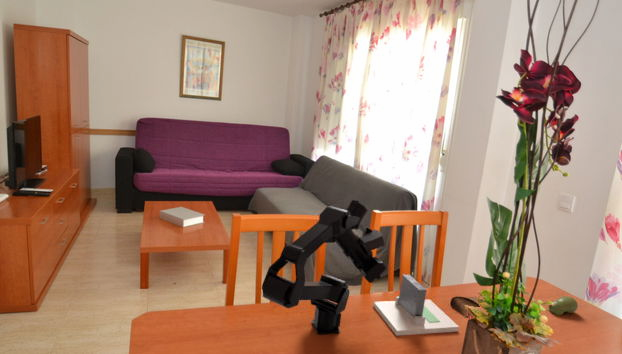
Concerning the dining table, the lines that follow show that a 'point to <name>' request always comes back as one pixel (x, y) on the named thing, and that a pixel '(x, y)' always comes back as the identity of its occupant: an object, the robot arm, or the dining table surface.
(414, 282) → the dark grey square panel
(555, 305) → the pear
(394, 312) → the pivot board
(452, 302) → the sunglasses case
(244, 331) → the dining table surface
